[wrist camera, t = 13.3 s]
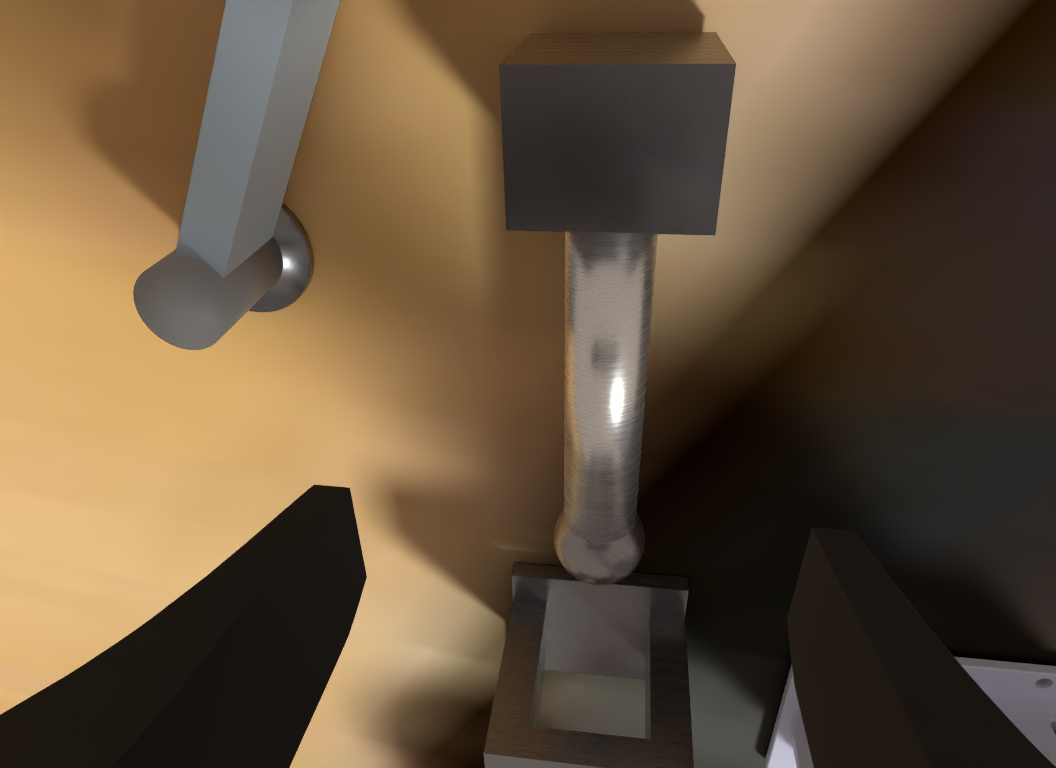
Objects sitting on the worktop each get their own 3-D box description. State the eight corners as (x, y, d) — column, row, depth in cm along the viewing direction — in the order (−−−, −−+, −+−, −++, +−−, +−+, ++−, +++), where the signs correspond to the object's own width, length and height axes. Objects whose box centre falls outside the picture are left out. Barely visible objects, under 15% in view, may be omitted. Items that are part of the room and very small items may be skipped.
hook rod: (716, 32, 15) (736, 63, 12) (664, 521, 23) (667, 623, 20) (529, 33, 16) (499, 64, 12) (539, 511, 23) (522, 609, 20)
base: (299, 186, 19) (295, 189, 19) (324, 309, 21) (320, 314, 20) (171, 184, 19) (165, 187, 19) (207, 304, 21) (202, 309, 21)
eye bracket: (687, 577, 25) (699, 752, 19) (675, 669, 27) (682, 843, 22) (514, 562, 25) (480, 727, 20) (518, 653, 28) (490, 818, 23)
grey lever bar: (337, -352, 13) (254, -427, 10) (450, -284, 13) (398, -338, 10) (198, 269, 20) (127, 324, 17) (272, 304, 20) (214, 364, 18)
